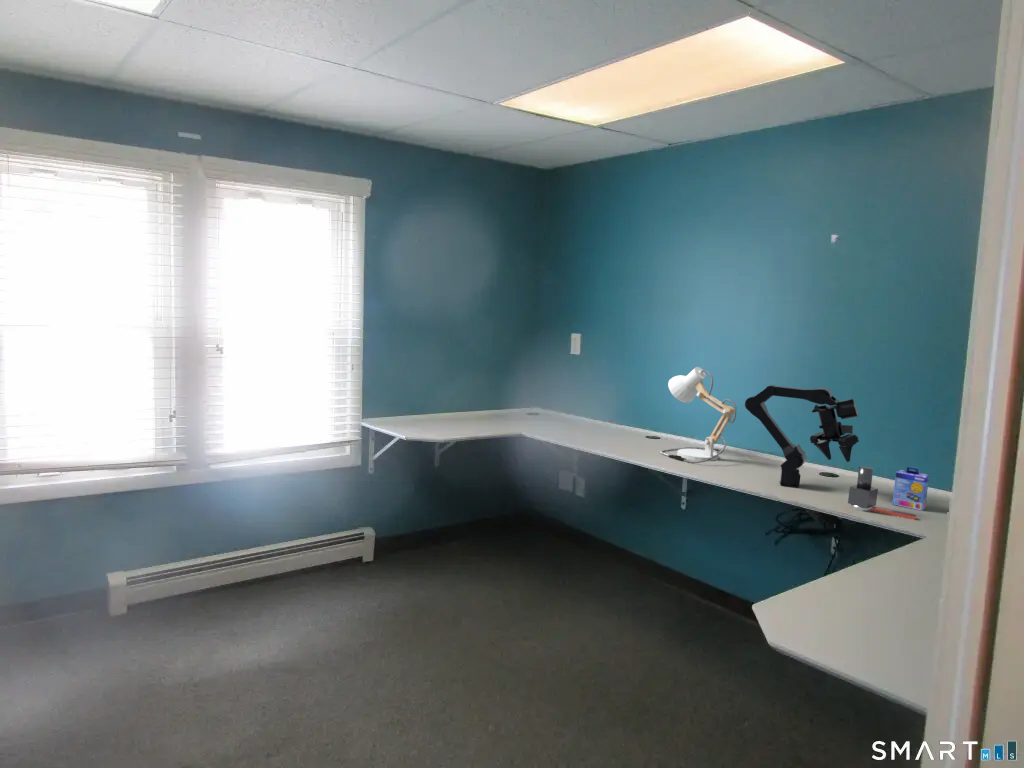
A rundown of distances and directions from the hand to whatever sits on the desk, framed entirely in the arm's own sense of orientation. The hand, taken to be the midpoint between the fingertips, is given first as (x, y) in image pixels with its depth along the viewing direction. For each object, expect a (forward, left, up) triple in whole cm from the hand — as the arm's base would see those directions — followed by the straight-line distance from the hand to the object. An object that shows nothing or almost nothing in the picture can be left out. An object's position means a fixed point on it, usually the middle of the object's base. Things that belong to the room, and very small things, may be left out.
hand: (839, 460), depth 259 cm
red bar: (+11, -23, -12) cm, 28 cm away
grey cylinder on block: (+5, -20, -11) cm, 24 cm away
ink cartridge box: (+23, -9, -12) cm, 27 cm away
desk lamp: (-52, +38, -12) cm, 66 cm away
